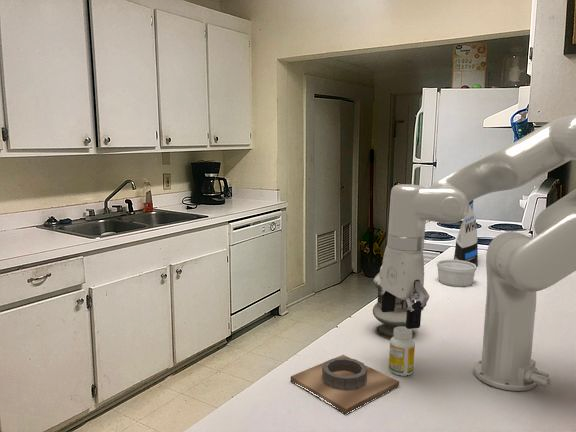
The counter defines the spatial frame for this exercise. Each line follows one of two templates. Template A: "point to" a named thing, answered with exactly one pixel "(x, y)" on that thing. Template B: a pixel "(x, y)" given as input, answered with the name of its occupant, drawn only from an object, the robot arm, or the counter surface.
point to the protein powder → (467, 239)
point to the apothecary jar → (389, 313)
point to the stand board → (349, 395)
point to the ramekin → (456, 272)
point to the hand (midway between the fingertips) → (399, 319)
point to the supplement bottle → (401, 352)
